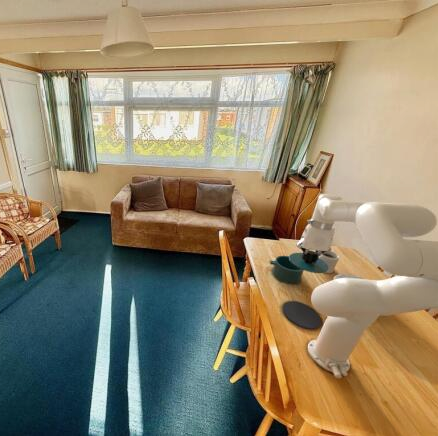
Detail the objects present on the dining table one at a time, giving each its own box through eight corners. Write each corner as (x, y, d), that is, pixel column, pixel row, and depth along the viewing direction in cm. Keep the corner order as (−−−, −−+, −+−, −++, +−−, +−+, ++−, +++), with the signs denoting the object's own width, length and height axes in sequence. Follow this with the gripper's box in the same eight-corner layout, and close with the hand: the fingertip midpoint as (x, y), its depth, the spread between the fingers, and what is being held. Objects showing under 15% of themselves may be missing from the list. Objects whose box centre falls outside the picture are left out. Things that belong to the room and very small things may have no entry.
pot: (309, 286, 118) (314, 273, 115) (269, 280, 123) (273, 268, 119) (300, 270, 130) (304, 258, 127) (264, 265, 135) (267, 253, 131)
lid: (334, 276, 94) (339, 264, 91) (294, 271, 97) (298, 259, 95) (319, 257, 107) (323, 245, 104) (284, 253, 110) (287, 241, 108)
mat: (327, 332, 94) (328, 331, 94) (287, 325, 97) (287, 324, 97) (313, 305, 107) (313, 304, 107) (278, 299, 110) (278, 298, 110)
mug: (332, 266, 133) (338, 252, 129) (333, 276, 126) (340, 261, 121) (310, 261, 138) (315, 247, 134) (310, 269, 131) (315, 255, 127)
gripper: (302, 225, 92) (290, 263, 100) (349, 230, 89) (333, 268, 96) (296, 218, 99) (285, 253, 107) (339, 222, 95) (325, 258, 103)
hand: (308, 260), depth 101 cm, fingers closed on lid, 3 cm apart
